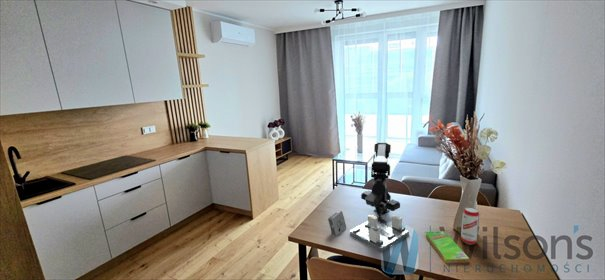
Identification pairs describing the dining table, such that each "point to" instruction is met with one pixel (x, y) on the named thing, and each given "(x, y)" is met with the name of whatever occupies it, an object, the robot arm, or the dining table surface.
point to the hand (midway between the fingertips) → (379, 216)
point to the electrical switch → (337, 223)
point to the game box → (446, 247)
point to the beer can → (470, 225)
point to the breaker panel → (387, 234)
